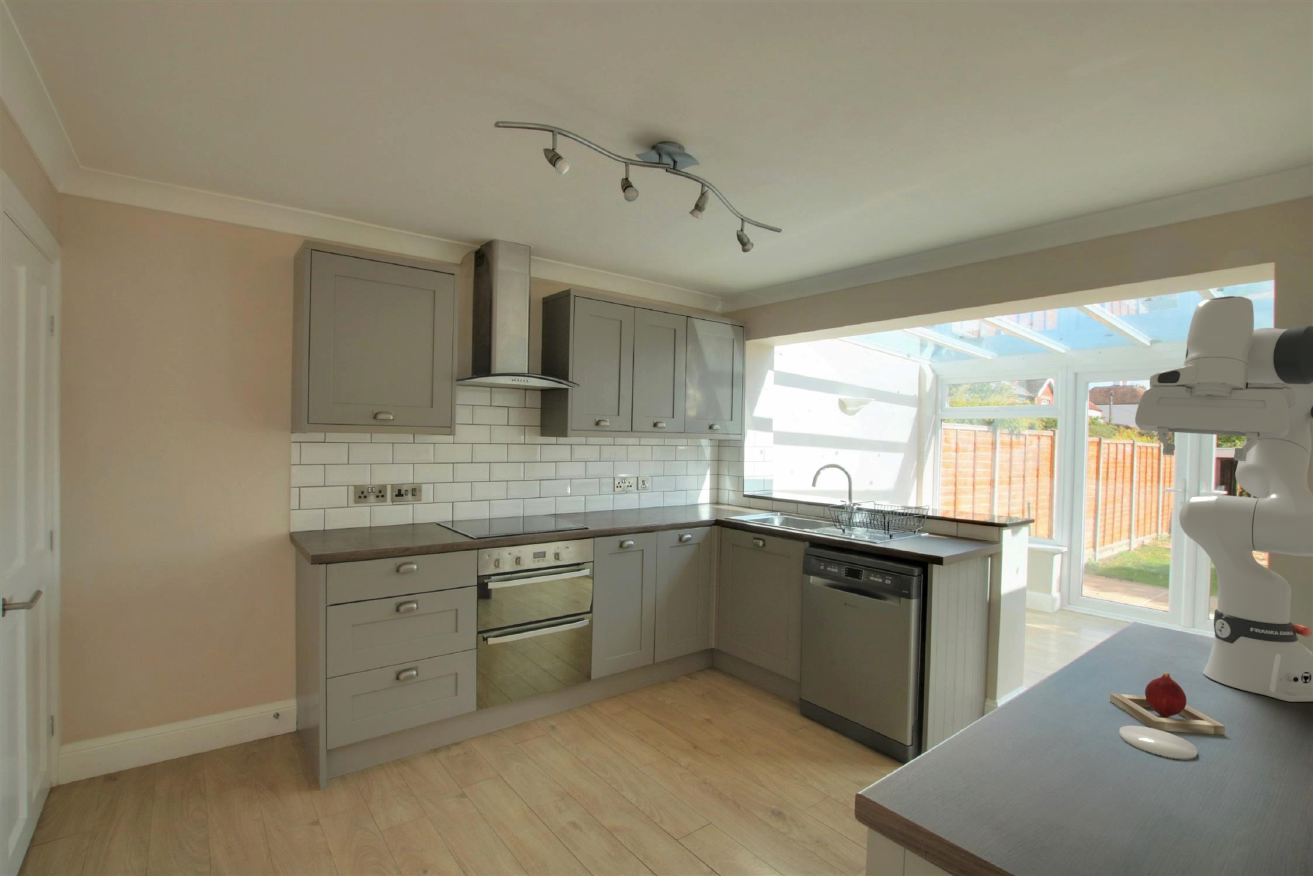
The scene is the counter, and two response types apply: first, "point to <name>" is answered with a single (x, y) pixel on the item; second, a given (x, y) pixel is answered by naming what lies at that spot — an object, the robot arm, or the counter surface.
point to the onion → (1165, 696)
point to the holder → (1192, 724)
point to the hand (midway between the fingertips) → (1202, 457)
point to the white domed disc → (1158, 742)
